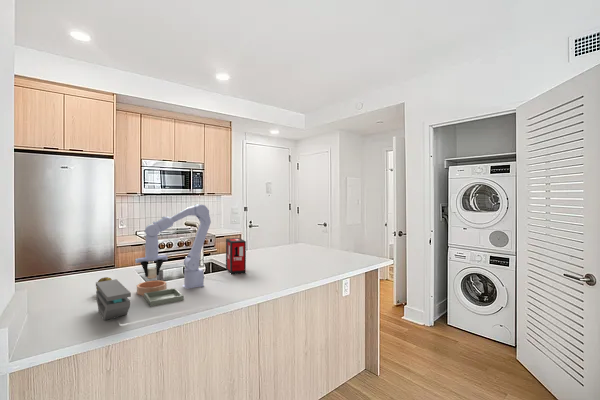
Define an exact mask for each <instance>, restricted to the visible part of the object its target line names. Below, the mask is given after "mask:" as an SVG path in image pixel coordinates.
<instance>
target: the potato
mask: <svg viewBox="0 0 600 400" xmlns="http://www.w3.org/2000/svg"><path fill="white" fill-rule="evenodd" d="M108 280H113V279H112V278H111V277H107V276H104V277H102V278H100V279H98V280H97V282H102V281H108ZM95 287H96V286H95ZM97 290H98V288H97V287H96V291H97Z"/></svg>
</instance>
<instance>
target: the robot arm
mask: <svg viewBox="0 0 600 400" xmlns="http://www.w3.org/2000/svg"><path fill="white" fill-rule="evenodd" d="M188 216H189V217H190V216H192V217H193V216H195V217H196V218H197V219H198V221H199V226H198V229H197V231H196V234H195V237H194V241H193V243H192V245H191V246H192V247H191V249H190V250H189V252H188V254H187V256H186V257H184V259H183V265H184V266H185V268H184V269H183V270H184V271H183V273H184V275H183V279H184V281H183V284H181V286H182V287H183V288H185V290H188V289H193V288H199V287H200V288H203V287H205V285H204V284H205V283H204V281H205V279H204V278H205V277H204V270H203V268H200V259H201V252H202V249H203V246H204V243H205V240H206V237H207V235H208V231H209V229H210V225H211V224H212V220H211V215H210V210H209V209H208V206H206V205H205V204H200V203H197V204H194V205H191V206H188V207H187V208H185V209H183V210H181V211H178V213H176V214H173V215H172V216H161V219H158V220H157V221H153V222H152V223H151V224H148V225H146V227H145V228H144V233H145V239H144V240H145V242H144V243H145V246H144V247H145V249H144V250H145V257H138V258H135V259H134V262H135V264H140V265H141V267H142V269H143V271H144V277H146V278H147V277H148V272H147V269H148V268H149V264H148V262H155V268H157V276H159V275H160V269H161V267H162V265H163V263H164V261H168V258H169V256H168V254H167V255H159V238H158V236H159V233H162V232H164V231H166V230H168V229H170V228H171V227H173V226H174V224H175V223H177V222H178V221H179V220H182V219H184V218H186V217H188Z"/></svg>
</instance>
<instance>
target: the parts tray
mask: <svg viewBox="0 0 600 400" xmlns="http://www.w3.org/2000/svg"><path fill="white" fill-rule="evenodd" d="M184 297H185V296H184V294H183V293H182V292H181V291H179V290H178V289H177V288H176V287H172V288H167V289H166V290H160V291H154V292H148V293H144V296H143V298H144V299H145V301H146V303H148V305H149V306H150V307H154V306H160V305H164V304H165V305H166V304H170V303H176V302H178V301H179V302H180V301H184V300H185V298H184Z"/></svg>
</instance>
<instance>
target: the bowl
mask: <svg viewBox="0 0 600 400" xmlns="http://www.w3.org/2000/svg"><path fill="white" fill-rule="evenodd" d="M167 284H168V283H167V282H166V281H165V280H159V279H158V280H148V281H143V282H141V283H140V282H139V283H138V284H137V285H136V294H137V295H138V296H143V297H144V293H148V292H154V291H160V290H166V289H168V288H167V286H168V285H167Z"/></svg>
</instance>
